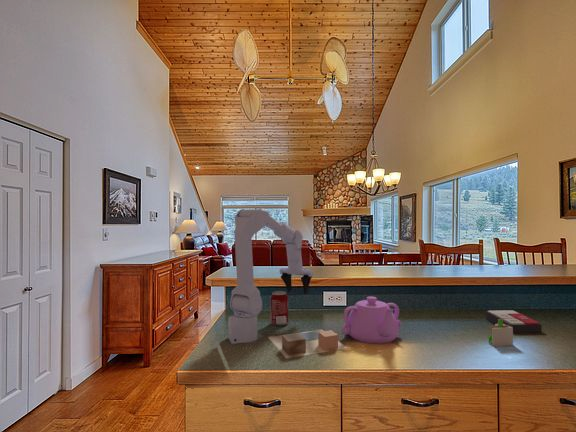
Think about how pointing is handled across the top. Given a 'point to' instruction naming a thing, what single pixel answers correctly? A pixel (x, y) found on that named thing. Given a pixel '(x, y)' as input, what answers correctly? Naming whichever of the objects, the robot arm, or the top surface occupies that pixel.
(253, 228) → the robot arm
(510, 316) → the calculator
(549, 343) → the top surface
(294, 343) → the walnut block
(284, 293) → the soda can
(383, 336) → the teapot
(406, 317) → the top surface
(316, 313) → the top surface
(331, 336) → the terracotta block
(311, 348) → the beige flat square
